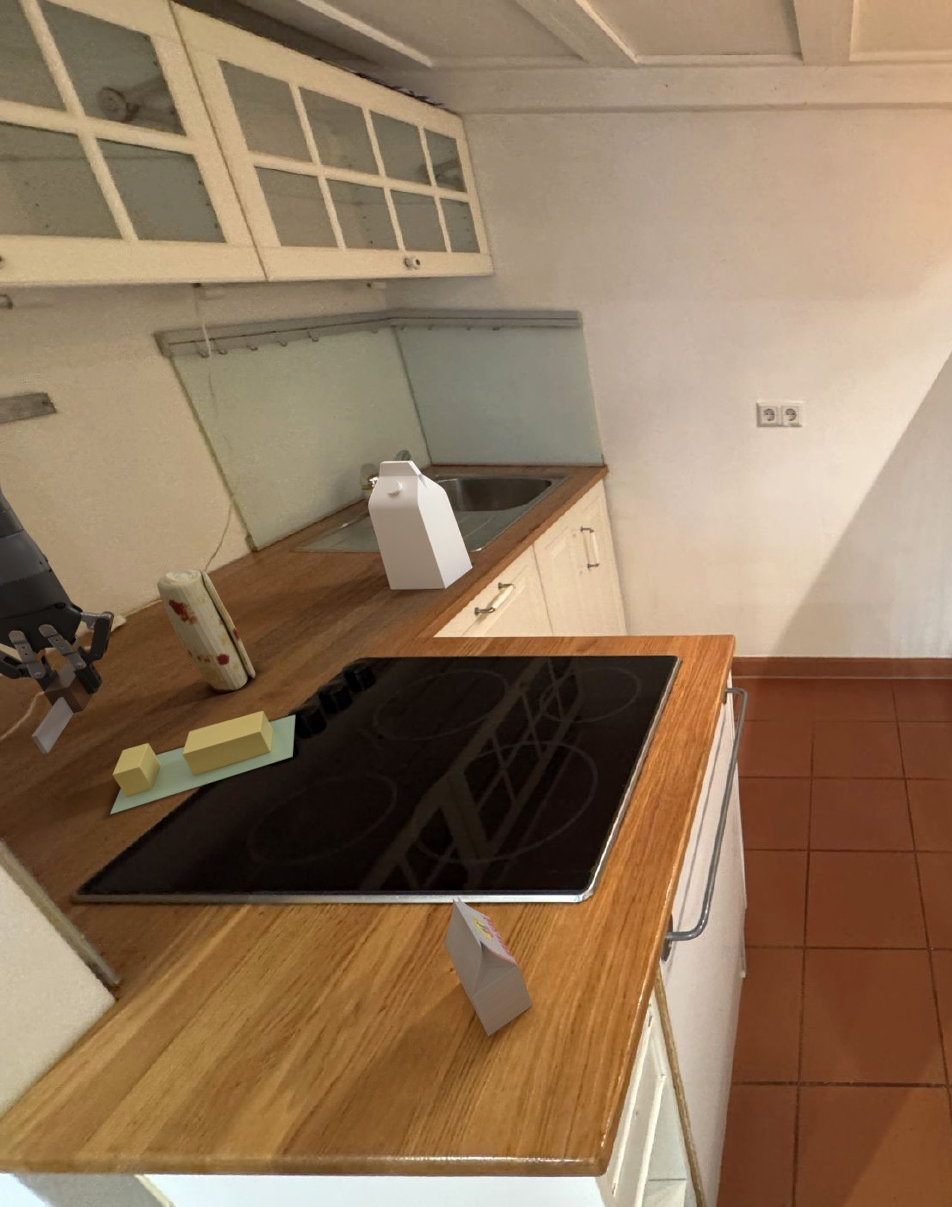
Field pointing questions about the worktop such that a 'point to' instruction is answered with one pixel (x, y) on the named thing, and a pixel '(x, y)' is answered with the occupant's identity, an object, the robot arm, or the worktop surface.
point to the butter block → (228, 742)
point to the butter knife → (61, 706)
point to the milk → (416, 529)
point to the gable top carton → (485, 968)
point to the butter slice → (136, 769)
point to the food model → (205, 629)
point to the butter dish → (180, 777)
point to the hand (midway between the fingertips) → (79, 694)
